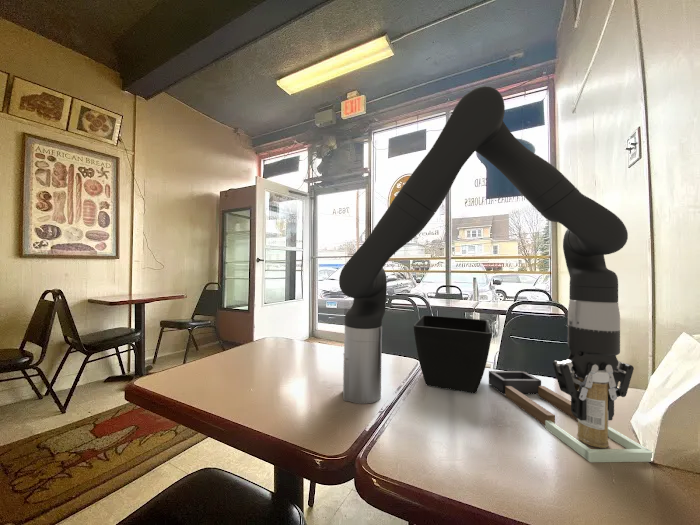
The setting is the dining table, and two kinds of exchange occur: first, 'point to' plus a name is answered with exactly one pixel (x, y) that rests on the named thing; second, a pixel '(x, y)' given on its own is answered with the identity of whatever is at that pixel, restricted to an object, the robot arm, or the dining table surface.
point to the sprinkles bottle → (595, 412)
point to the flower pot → (452, 351)
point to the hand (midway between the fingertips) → (592, 417)
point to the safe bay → (630, 454)
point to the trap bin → (514, 381)
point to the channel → (535, 408)
